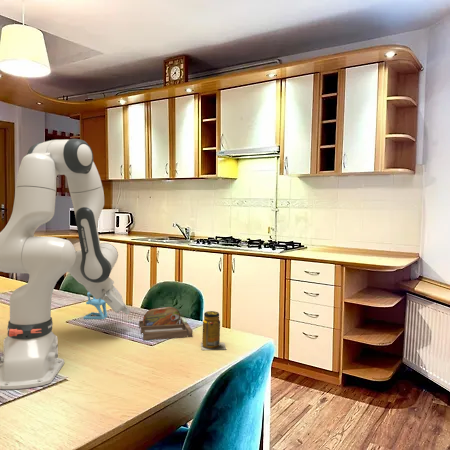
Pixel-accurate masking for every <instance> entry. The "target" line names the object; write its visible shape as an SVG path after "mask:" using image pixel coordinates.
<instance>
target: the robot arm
mask: <svg viewBox="0 0 450 450" xmlns="http://www.w3.org/2000/svg"><path fill="white" fill-rule="evenodd" d="M26 153H27V154H26V155H25V156H23V157H22V159H21V162H20V164H19V168H18V171H17V177H16V185H15V191H14V200H13V207H12V212H11V214H10V218H9V220H8V222H7V224H6V225H5V227H4V228H3V229H2V230H1V231H0V272H3V273H7V274H28V277H29V278H28V282H27V283H26V284H25V283H24V284H23V285H21V286H20V287H17V288H15V290H14V291H13V292H12V293H11V294H10V298H9V320H8V322H7V323H8V324H7V336H6V337H5V338H4V339H3V355H1V356H0V390H19V389H20V390H21V389H27V388H28V389H30V388H36V387H41V386H45V385H47V384H48V385H49V384H51V383H52V382H53V380H54V379H55V377H56V376H57V374H58V373H59V371H60V370H61V369H62V368H63V366H64V365H65V360H64V358H60V357H59V348H58V347H59V346H58V344H59V343H58V342H59V341H58V340H59V339H58V336H57V335H56V334H55V333H54V332H53V324H54V323H53V317H52V316H51V315H52V314H51V313H52V312H51V311H52V299H53V298H52V297H53V292H54V288H55V286H56V284H57V282H58V281H59V280H60V278H61V277H62V276H64V275H65V274H66V273H67V272H68V273H69V274H70V275H71V277H73V279H74V280H76V282H77V283H79V284H80V285H82V286H83V287H84V288H85V290H86V291H87V293H88V292H89V293H90V294H91V295H90V296H92V297H93V296H94V297H95V299H99V298H101V299H102V300H104V301H105V302H106V304H107V305H108V307H110V308H111V309H112V310H113V312H115V313H117V314H119V313H120V312H123V313H124V314H125V315H129V314H130V313H131V309H130V308H129V307H127V305H126V303H124V300H123V297H122V294H121V293H120V291H119V290H118V289H117V288H116V287H115V285H114V284H115V281H114V280H113V279H112V278H111V277H110V276H111V275H110V274H111V272H112V271H113V269H114V267H115V265H116V263H117V261H118V258H119V252H118V250H117V248H116V247H115V246H114V245H113V244H111V243H109V242H101V243H100V241H101V240H100V236H99V231H98V223H99V219H100V216H101V215H102V214H101V213H102V211H103V209H104V207H105V194H104V186H103V183H102V180H101V176H100V173H99V171H98V169H97V166H96V164H95V162H94V153H93V150H92V147H91V146H90V145H89V144H88V143H87V141H85V140H83V139H80V138H79V139H78V138H70V139H51V140H46V141H40V142H36V143H35V144H33V145H31V146H30V147H29V149H28V151H27V152H26ZM58 175H61V176H63V175H64V176H65V177H66V181H67V186H68V191H69V195H70V199H71V202H72V207H73V211H74V215H75V216H74V217H75V223H76V228H77V229H76V230H77V235H78V239H79V245H80V250H76V248H75V246H74V245H73V243H72V241H70V240H69V239H65V238H60V237H55V236H40V235H39V236H38V235H37V236H36V235H35V232H36V231H37V229H38V228H39V227H40V226H42V225H44V224H46V223H48V222H50V221H51V220H52V219H53V217H54V216H55V211H56V209H55V208H56V197H57V177H58Z"/></svg>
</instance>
